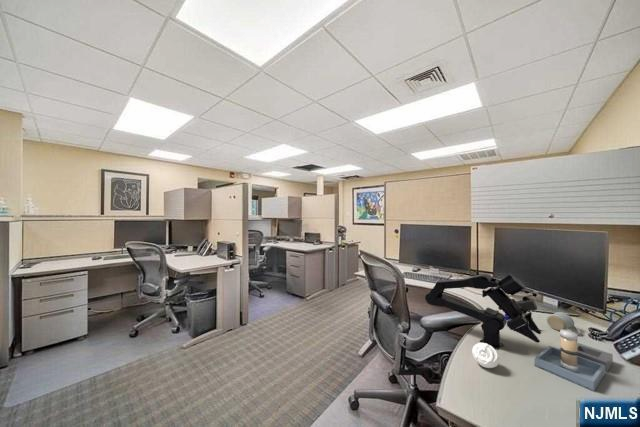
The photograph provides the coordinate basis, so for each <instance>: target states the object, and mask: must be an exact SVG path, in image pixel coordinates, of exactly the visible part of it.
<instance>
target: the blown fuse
mask: <svg viewBox="0 0 640 427" xmlns="http://www.w3.org/2000/svg"><path fill="white" fill-rule="evenodd" d="M572 331H573V330H571V331H569V330H564V329H561V330H560V331H559V333H560V334H559V335H560V350H561V367H562V368H564V369H566V370H569V371H571V372H574V373H577V372H578V357H577V355H578V351H577V343H578V340H579V338H578V337H579V335H578V334H577V332H576V331H573V332H572Z"/></svg>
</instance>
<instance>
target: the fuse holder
mask: <svg viewBox="0 0 640 427" xmlns="http://www.w3.org/2000/svg"><path fill="white" fill-rule="evenodd" d="M577 351H578V355H577V356H580V357H582V358H585V359H588V360H591V361H594V362H596V363H599V364H602V365H605V373H608V371H609V370H610V368H612V365H613V364H614V360H613V358H614V357H613V354H612V353H610V352H606V351H604V350H601V349H597V348H596V347H592V346H589V345H585V344H582V343H579V342H577Z"/></svg>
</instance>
